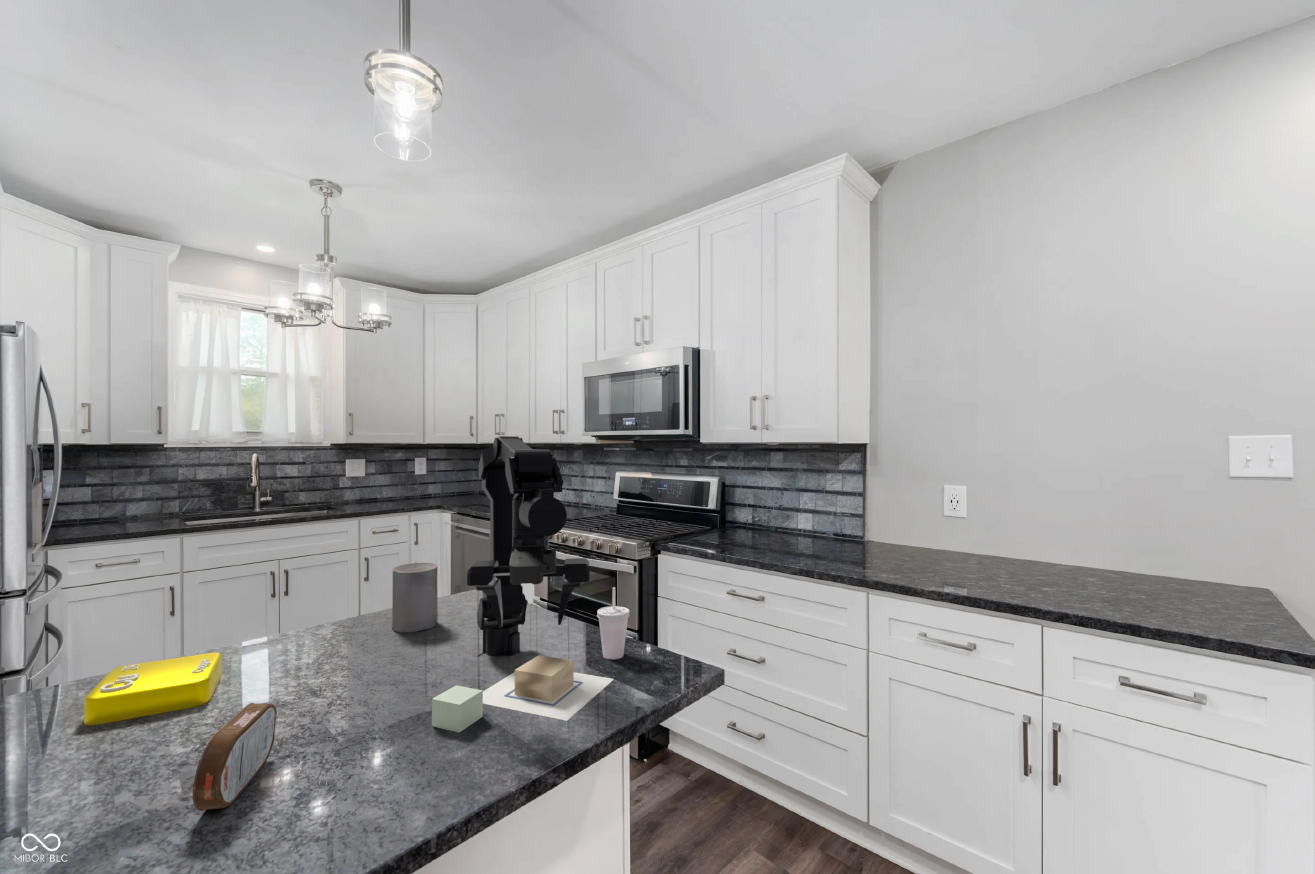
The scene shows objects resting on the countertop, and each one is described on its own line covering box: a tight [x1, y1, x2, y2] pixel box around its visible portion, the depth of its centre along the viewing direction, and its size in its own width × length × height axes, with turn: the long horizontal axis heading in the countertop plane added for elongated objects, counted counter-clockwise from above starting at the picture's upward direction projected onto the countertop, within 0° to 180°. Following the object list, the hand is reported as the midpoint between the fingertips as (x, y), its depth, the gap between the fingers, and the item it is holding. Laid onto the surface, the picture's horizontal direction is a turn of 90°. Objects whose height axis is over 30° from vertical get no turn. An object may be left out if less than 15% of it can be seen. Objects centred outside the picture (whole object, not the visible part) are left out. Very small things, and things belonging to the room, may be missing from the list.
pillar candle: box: [391, 561, 439, 634], centre depth 129 cm, size 10×10×15 cm
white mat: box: [483, 671, 614, 722], centre depth 93 cm, size 18×16×1 cm
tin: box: [192, 702, 278, 812], centre depth 68 cm, size 15×3×8 cm, turn 13°
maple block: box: [514, 654, 575, 702], centre depth 93 cm, size 7×7×4 cm
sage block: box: [431, 684, 484, 733], centre depth 82 cm, size 5×5×5 cm
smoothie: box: [596, 586, 631, 660], centre depth 109 cm, size 6×6×14 cm
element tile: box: [83, 652, 223, 726], centre depth 92 cm, size 15×15×5 cm
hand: (530, 625), depth 89 cm, fingers open, 9 cm apart
